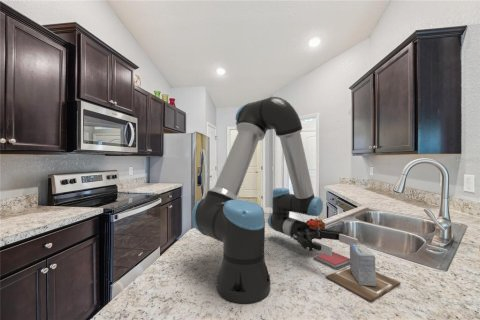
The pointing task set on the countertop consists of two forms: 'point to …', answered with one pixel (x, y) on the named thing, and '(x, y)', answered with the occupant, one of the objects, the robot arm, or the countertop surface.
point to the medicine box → (362, 265)
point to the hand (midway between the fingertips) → (345, 247)
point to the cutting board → (366, 292)
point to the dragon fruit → (316, 223)
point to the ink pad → (333, 260)
